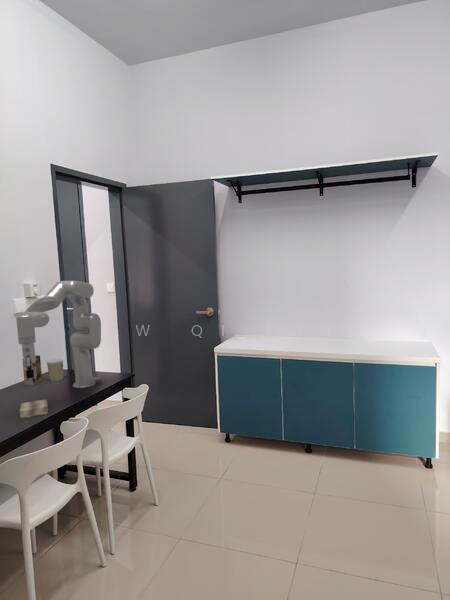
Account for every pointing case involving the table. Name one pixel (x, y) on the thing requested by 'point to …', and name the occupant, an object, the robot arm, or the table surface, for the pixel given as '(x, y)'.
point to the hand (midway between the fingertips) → (30, 376)
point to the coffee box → (38, 372)
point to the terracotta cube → (33, 370)
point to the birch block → (33, 408)
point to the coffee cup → (55, 369)
